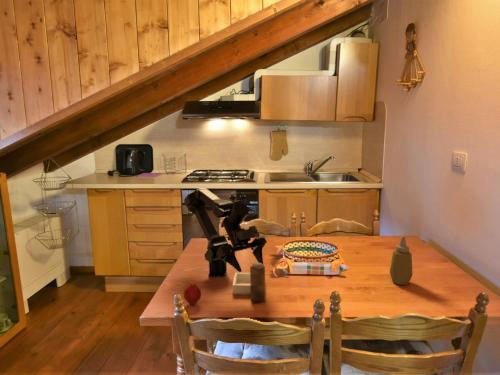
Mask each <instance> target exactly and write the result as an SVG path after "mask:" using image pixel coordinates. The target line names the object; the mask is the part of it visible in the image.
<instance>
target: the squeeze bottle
mask: <svg viewBox="0 0 500 375" xmlns="http://www.w3.org/2000/svg"><path fill="white" fill-rule="evenodd" d="M391 255H392V256H391V260H390V261H391V262H390V267H389V275H390V279H391V281H392V283H394V284H395V285H399V286H408V285H409V283H410V281H411V279H412V276H413V259H412V258H413V257H412V253H411V252H410V247H409V245H407V241H406V236H401V237H400V240H399V244H396V245H395V249H394V251H393V252H392V254H391Z"/></svg>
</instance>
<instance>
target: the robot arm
mask: <svg viewBox="0 0 500 375" xmlns="http://www.w3.org/2000/svg"><path fill="white" fill-rule="evenodd" d="M183 200H184V205H185V207H186V209H187V210H188V211H189V212H190V213H192V214H193V215H195V217H196V220H197V222H198V223H199V226H200V228H201V230H202V232H203V234H204V236H205V238H206V240H207V245H206V247H207V248H206V249H207V250H206V252H205V253H204V260H205V261H207V262H208V270H209V271H208V272H209V273H208V277H225V276H226V274H227V272H228V268H227V267H228V266H227V264H229V265H230V266H232V267H233V268H234V269H235V270H236V271H237V272H238V273H242V268H241V266H240V263H239V261H238V258H237V257H236V252H239V251H243V250H248V249H250V250H252V252H251V253H252V255H253V256H254V257H255V260H256V261H257V263H262V264H263V265H264V256H263V248H264V247H265V246H266V244H267V243H268V241H267V239H266V238H265V236H258V237H256V235H257V234H258V233H259V232H258V228H257V227H256V225H251V226H248V228H247V229H245V227H244V228H242V226H241V225H242V224H243V222H244V221H245V219H246V217H247V216H248V215H249V213H250V209H249V207H248V206H247V205H246V204H245V203H243V202H241V200H235V201H231V200H228V199H222V198H220V197H218V195H216V194H214V193H213V192H211V191H210V190H209V188H208V187H200V188H196V189H195V190H194V191H192V192H190V193H188V194H186V196H185V198H184V199H183ZM206 205H207V206H208V207H209V208H211V210H212V214H214V216H215V217H216V218H218V219H222V220H221V224H220V228H224V231H225V232H226V234H227V237H226V236H225V235H219V233H218V231H217V229H216V228H215V225H214V223H213V221H212V219H211V218H210V216H209V213H208V212H207V209H206ZM223 218H224V219H223ZM252 238H253V240H252ZM251 240H252V241H251ZM228 241H230V243H229V242H228ZM250 241H251V242H250Z"/></svg>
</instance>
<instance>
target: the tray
mask: <svg viewBox="0 0 500 375" xmlns="http://www.w3.org/2000/svg"><path fill="white" fill-rule="evenodd" d="M232 295H244V296H245V295H246V296H247V295H250V296H251V287H250V272H234V277H233V281H232Z"/></svg>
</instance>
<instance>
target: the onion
mask: <svg viewBox="0 0 500 375" xmlns="http://www.w3.org/2000/svg"><path fill="white" fill-rule="evenodd" d="M201 291H202V290H201V288H200V286H198V285H197V284H195V283H194V282H190V284H188V285H187V286H186V287H185V289H184V292H183V298H184V300H185V301H186V302H187V303H188V304H190V305H192V306H194V305H195V304H197V303H198V302H199V301H200V299H201V297H202V292H201Z"/></svg>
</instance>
